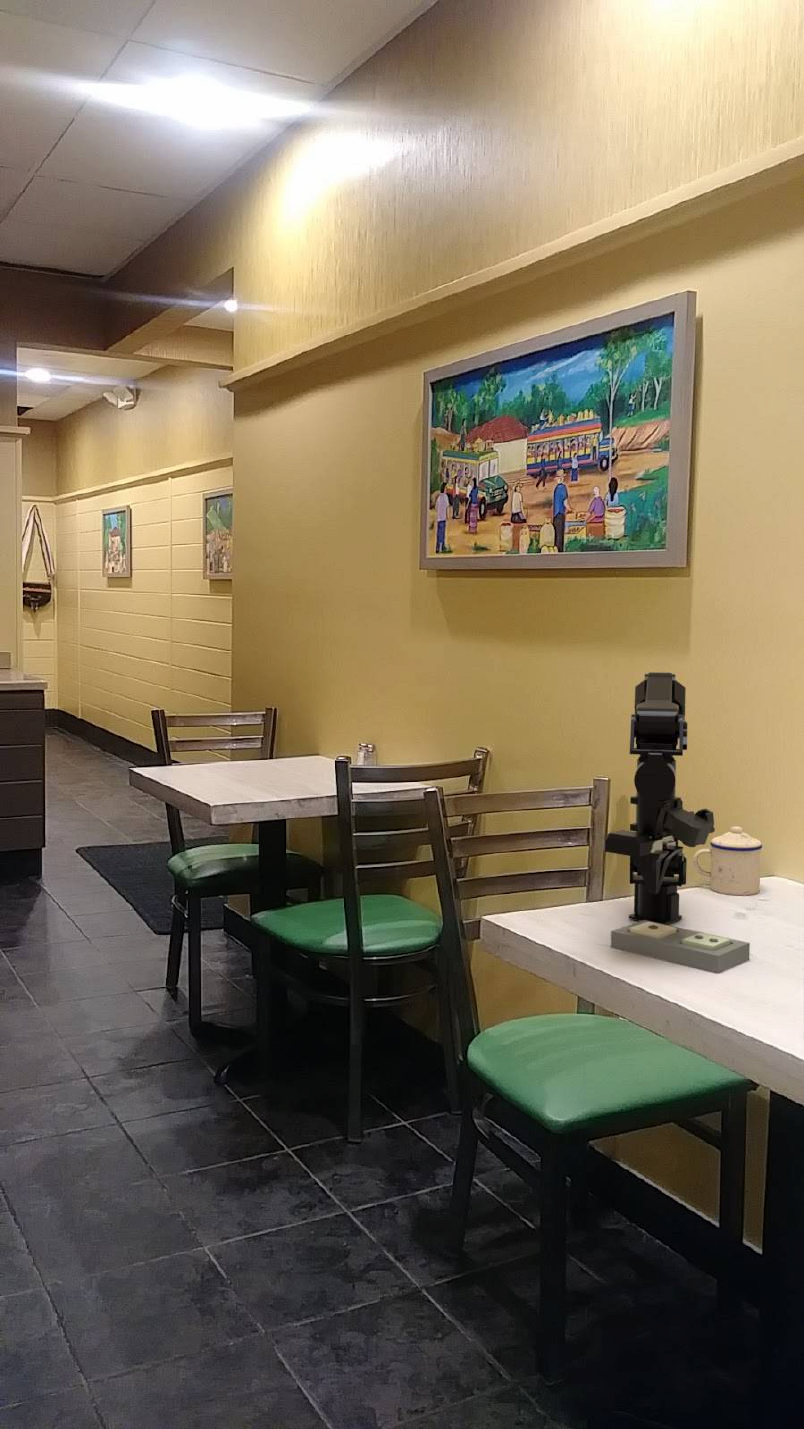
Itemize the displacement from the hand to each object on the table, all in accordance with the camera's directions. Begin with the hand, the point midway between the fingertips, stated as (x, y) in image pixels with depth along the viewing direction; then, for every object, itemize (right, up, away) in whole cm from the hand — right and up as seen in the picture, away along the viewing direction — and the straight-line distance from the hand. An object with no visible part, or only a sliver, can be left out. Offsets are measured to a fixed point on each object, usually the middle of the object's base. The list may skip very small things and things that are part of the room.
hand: (653, 893), depth 175 cm
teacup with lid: (+21, -5, +37) cm, 43 cm away
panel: (+3, -9, -2) cm, 9 cm away
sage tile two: (+6, -8, -5) cm, 12 cm away
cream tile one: (0, -7, +1) cm, 7 cm away
